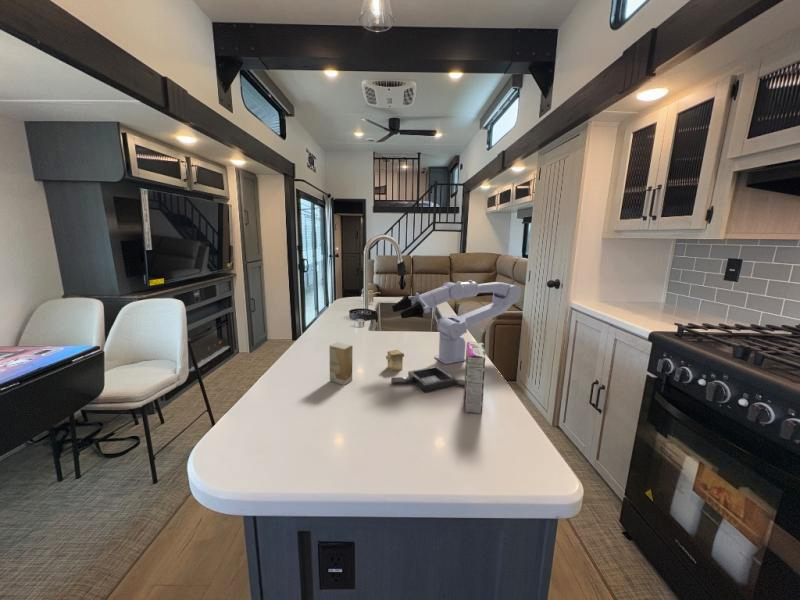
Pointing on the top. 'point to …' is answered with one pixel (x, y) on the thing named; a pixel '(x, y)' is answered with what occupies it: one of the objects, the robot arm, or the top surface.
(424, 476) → the top surface
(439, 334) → the robot arm
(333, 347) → the skincare box
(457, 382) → the steel shaft
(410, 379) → the steel shaft
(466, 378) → the candy bar box
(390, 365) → the brass block with pegs
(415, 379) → the grey square tray
